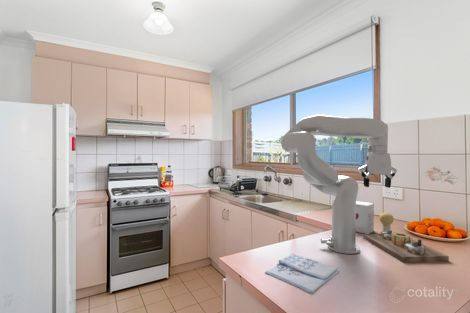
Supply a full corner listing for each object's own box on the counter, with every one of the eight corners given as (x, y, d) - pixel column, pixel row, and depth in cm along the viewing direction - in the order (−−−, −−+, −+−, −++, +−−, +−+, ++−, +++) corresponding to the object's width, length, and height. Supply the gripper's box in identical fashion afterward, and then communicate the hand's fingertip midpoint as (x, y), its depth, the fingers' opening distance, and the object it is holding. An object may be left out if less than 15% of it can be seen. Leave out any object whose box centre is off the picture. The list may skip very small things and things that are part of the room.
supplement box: (349, 230, 130) (349, 202, 130) (356, 227, 136) (356, 200, 136) (368, 234, 123) (368, 205, 123) (374, 230, 129) (374, 203, 129)
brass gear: (398, 247, 101) (398, 237, 101) (387, 241, 108) (387, 232, 108) (415, 246, 101) (415, 237, 101) (402, 241, 108) (402, 232, 108)
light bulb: (395, 233, 124) (395, 214, 124) (382, 233, 125) (382, 213, 125) (390, 230, 130) (390, 211, 130) (377, 229, 132) (377, 211, 132)
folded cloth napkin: (340, 273, 84) (340, 267, 84) (311, 297, 70) (311, 289, 70) (293, 256, 98) (293, 251, 98) (261, 274, 84) (261, 267, 84)
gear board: (402, 262, 91) (402, 245, 91) (363, 238, 117) (363, 225, 117) (448, 261, 92) (448, 244, 92) (399, 238, 118) (399, 224, 118)
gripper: (363, 149, 108) (362, 187, 108) (402, 150, 108) (401, 188, 108) (355, 149, 115) (354, 185, 115) (391, 150, 115) (390, 186, 115)
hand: (377, 187), depth 111 cm, fingers open, 9 cm apart
